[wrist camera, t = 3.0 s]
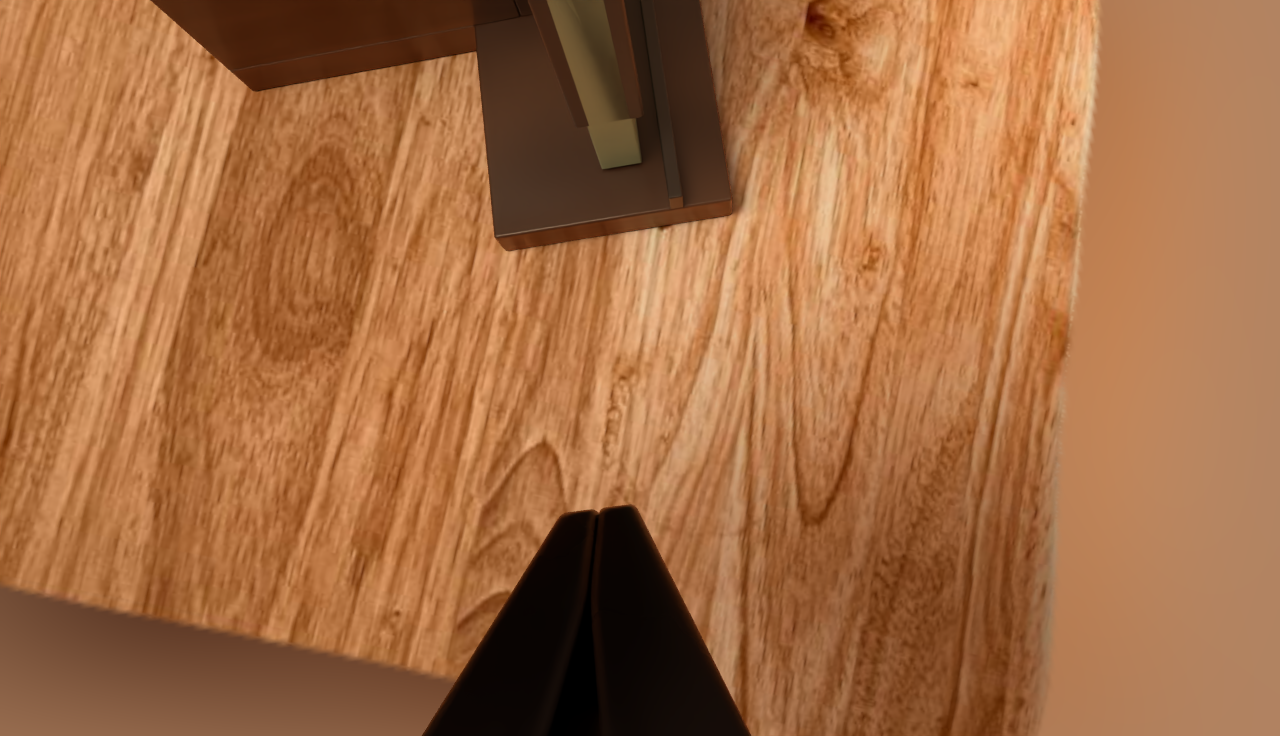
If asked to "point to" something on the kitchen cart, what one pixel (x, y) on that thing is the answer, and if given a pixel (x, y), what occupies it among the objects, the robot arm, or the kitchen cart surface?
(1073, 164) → the kitchen cart surface
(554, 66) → the door
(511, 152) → the cabinet
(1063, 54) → the kitchen cart surface
